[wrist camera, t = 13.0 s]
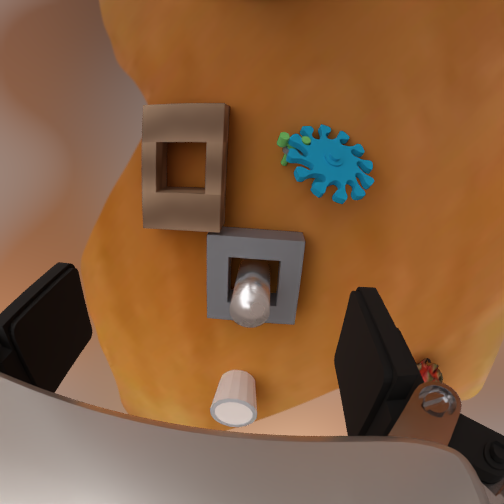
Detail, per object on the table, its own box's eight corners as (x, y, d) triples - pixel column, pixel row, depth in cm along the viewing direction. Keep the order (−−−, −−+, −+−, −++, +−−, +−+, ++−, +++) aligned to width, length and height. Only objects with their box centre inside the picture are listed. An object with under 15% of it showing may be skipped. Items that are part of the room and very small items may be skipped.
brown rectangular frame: (155, 107, 34) (143, 105, 30) (229, 106, 33) (224, 103, 30) (154, 218, 39) (143, 227, 35) (224, 222, 38) (219, 232, 35)
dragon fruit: (431, 340, 45) (390, 383, 51) (410, 353, 40) (365, 398, 46) (461, 375, 40) (415, 415, 45) (444, 393, 35) (393, 435, 40)
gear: (384, 152, 33) (365, 214, 28) (362, 180, 38) (339, 240, 34) (300, 103, 33) (263, 155, 29) (286, 136, 38) (250, 189, 34)
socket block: (212, 226, 39) (207, 234, 35) (302, 232, 38) (305, 241, 35) (211, 303, 43) (207, 317, 39) (292, 310, 42) (294, 324, 39)
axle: (239, 254, 40) (230, 291, 31) (271, 256, 40) (271, 294, 30) (238, 282, 41) (229, 325, 32) (269, 285, 41) (268, 328, 32)
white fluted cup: (267, 387, 48) (266, 420, 41) (232, 400, 50) (227, 432, 43) (243, 360, 46) (239, 393, 39) (208, 375, 48) (200, 407, 41)
